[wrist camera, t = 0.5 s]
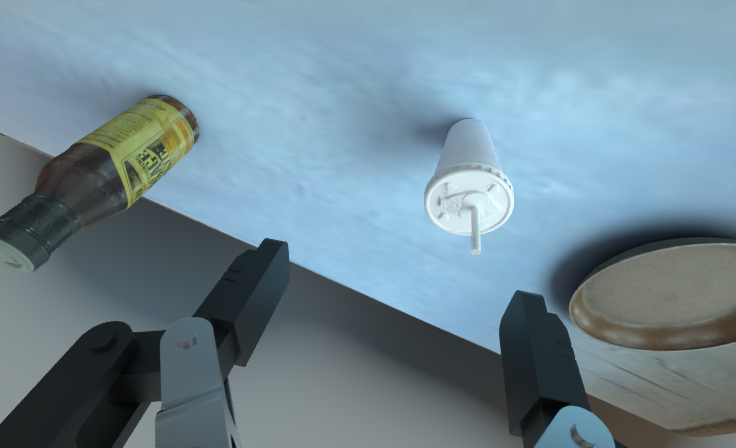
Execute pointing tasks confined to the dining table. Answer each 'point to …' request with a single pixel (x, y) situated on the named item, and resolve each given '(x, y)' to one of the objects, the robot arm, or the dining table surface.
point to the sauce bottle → (96, 179)
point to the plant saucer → (662, 296)
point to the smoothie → (469, 185)
